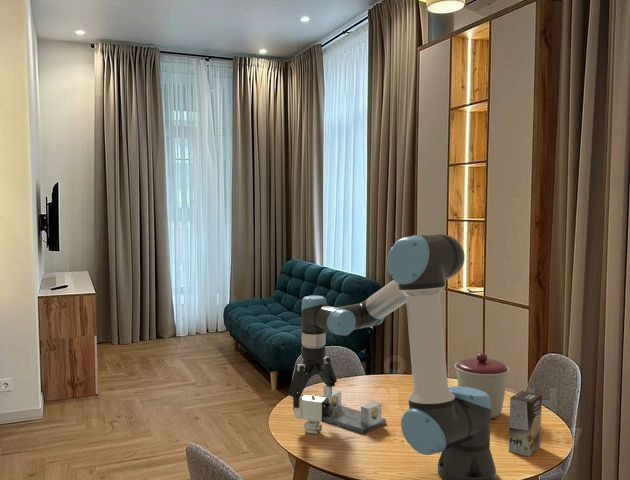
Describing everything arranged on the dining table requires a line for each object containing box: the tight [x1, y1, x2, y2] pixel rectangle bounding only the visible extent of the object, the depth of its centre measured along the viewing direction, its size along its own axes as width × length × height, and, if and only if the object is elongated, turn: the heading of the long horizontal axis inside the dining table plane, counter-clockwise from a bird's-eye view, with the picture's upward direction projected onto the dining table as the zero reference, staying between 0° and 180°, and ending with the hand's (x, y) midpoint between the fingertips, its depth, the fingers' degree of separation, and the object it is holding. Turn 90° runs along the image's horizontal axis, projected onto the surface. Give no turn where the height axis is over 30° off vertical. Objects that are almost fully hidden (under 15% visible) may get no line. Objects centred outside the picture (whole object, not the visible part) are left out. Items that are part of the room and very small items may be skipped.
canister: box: [454, 352, 511, 420], centre depth 204 cm, size 18×18×21 cm
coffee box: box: [508, 390, 543, 457], centre depth 176 cm, size 9×6×16 cm
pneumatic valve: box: [292, 394, 333, 435], centre depth 189 cm, size 6×12×12 cm, turn 69°
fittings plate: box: [320, 389, 387, 435], centre depth 198 cm, size 20×12×8 cm, turn 48°
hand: (313, 411), depth 189 cm, fingers open, 13 cm apart
